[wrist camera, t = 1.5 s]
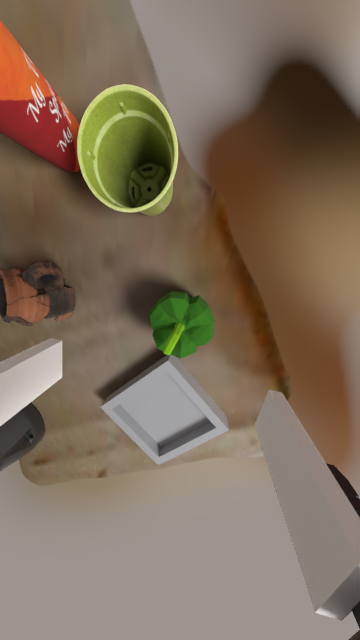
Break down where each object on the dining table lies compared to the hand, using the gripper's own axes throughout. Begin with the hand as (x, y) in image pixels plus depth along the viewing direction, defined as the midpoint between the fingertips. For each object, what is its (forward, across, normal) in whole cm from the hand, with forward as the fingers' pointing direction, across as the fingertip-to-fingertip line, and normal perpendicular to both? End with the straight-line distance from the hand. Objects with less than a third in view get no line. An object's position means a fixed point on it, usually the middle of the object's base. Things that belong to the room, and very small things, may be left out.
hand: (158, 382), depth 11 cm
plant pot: (+19, +8, -16) cm, 25 cm away
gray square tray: (+18, 0, +19) cm, 26 cm away
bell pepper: (+19, 0, 0) cm, 19 cm away
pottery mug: (+18, +22, +1) cm, 29 cm away
